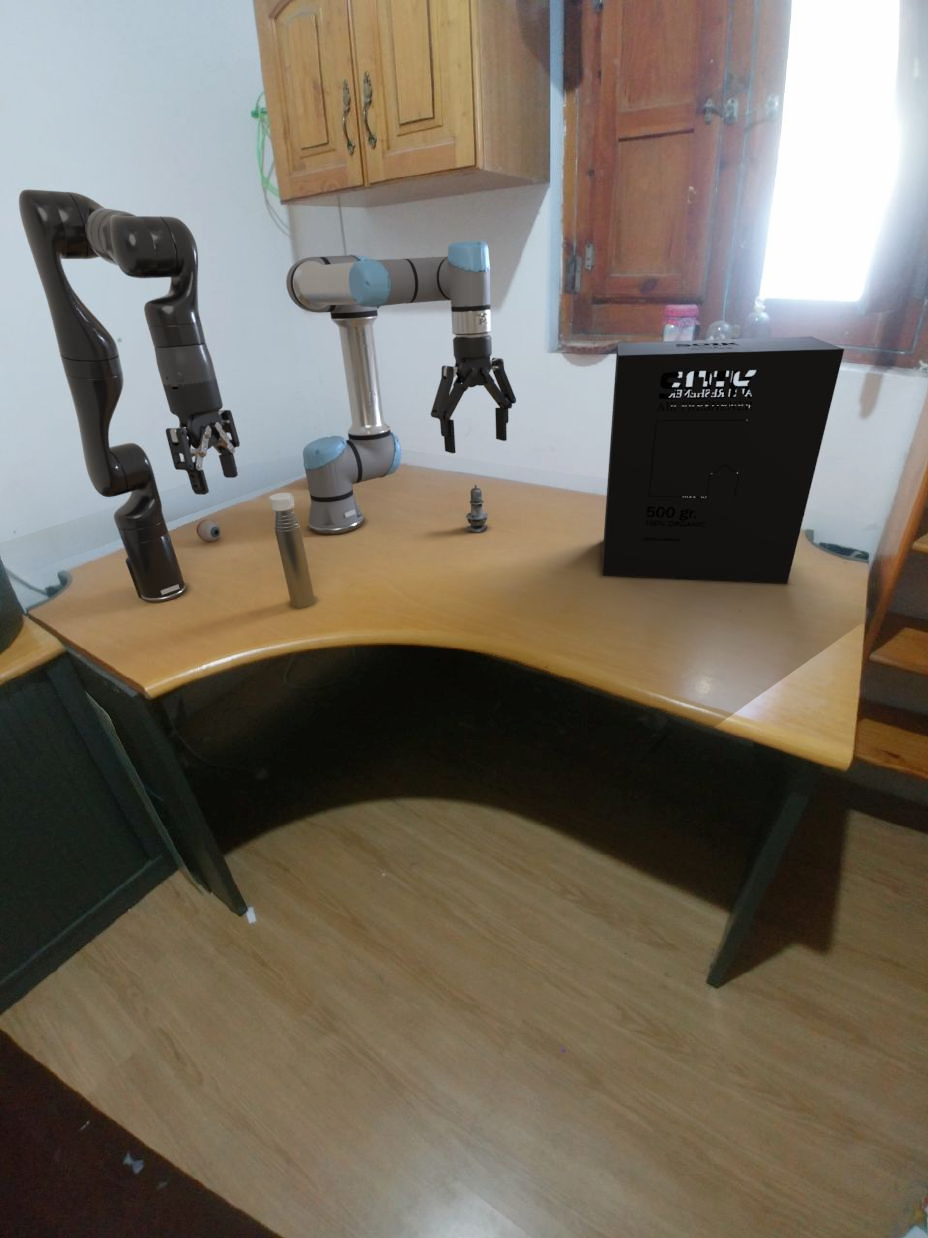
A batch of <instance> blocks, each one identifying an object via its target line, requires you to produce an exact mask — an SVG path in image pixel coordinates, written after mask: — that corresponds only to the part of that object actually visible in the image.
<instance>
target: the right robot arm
mask: <svg viewBox="0 0 928 1238" xmlns="http://www.w3.org/2000/svg"><path fill="white" fill-rule="evenodd" d="M490 263H491V262H490V252H489V245H488V244H487V242H485V241H484V240H466V241H455V242H451V243H450V244H449V245H448V247H447V256H431V257H430V256H427V257H413V258H411V257H410V258H391V259H390V258H386V259H374V258H370V257H369V256H367V255H358V254H349V255H328V256H326V255H325V256H310V257H305V258H302V259H300V260H298V261H296V262H295V263H293V265H291V267H290V268H289V269H288V272H287V275H286V281H285V282H286V283H285V284H286V285H285V286H286V290H287V293H288V296H289V297H290V299H291V300H292V303H294V304H295V305H296V306H298V307H299V308H300V309H302V310H304V311H306V312H310V313H318V314H319V313H320V314H321V313H330V320H331V321H332V322H333V323H334V324H335V325H336V326H337V327H338V332H339V333H338V334H339V339H340V347H341V355H342V361H343V369H344V375H345V382H346V383H345V384H346V389H347V396H348V404H349V410H350V418H351V425H350V426H349V428H348V430H347V436H348V439H345V437H343V436H341V435H332V436H324V437H321V438H318V439H315V440H312V441H311V442H309V443H308V444H306V445H305V446H304V448H303V450H302V457H303V459H302V460H303V467H304V471H305V476H306V481H307V486H308V492H309V498H310V507H309V513H308V521H307V524H308V528H309V529H308V530H310V531H311V532H312V533H314V534H317V535H323V536H324V535H325V536H327V535H329V536H331V535H339V534H340V535H341V534H345V533H350V532H353V531H355V530H357V529H359V528H361V527H362V526H363V525H364V523H365V519H364V514H363V512H362V510H361V508H360V505H359V504H358V501H357V500H356V498H355V495H354V489H353V485H354V484H355V485H356V484H359V483H363V482H368V481H371V480H375V479H381V478H385V477H387V476H390V475H392V474H394V473H396V472H397V470H398V469H399V467H400V465H401V462H402V446H401V443H400V441H399V437H398V436H397V435H396V434H395V432H394V431H391V426H390V425H388V423H386V422H385V420H384V419H385V418H384V410H383V402H382V393H381V385H380V377H379V368H378V367H379V366H378V358H377V349H376V341H375V331H374V324H375V322H376V320H377V319H378V317H379V314H378V309H379V308H381V307H385V306H394V305H403V304H405V305H406V304H417V303H419V304H420V303H427V302H428V303H429V302H444V301H448V302H449V301H450V311H451V313H450V314H451V315H450V316H451V334H453V335H454V337H453V339H452V350H453V358H454V359H455V363H454V366H452V365H442V366H441V373H440V374H441V375H440V376H441V377H440V381H439V384H438V388H437V390H436V395H435V398H434V401H433V404H432V407H431V411H430V416H431V418H435V419H438V421H439V426H440V435H441V437H443V441H444V442H443V443H444V452H446V453H450V454H456V433H455V420H454V419H451V418H452V416H453V414H454V413H455V410H456V409H457V406H458V404H459V402H460V401H461V399H462V397H463V396H464V393H465V392H466V391H468V389H469V388H474V387H477V386H478V387H482V386H483V387H484V389H485V390H486V391H487V392H488V394H489V396H491V398H492V399H493V401H494V402H495V403H496V405H497V406H498V407H495V408H494V410H495V411H494V413H495V414H494V415H495V439H496V440H499V441H502V442H507V441H508V438H507V435H508V433H507V424H509V410H510V409H512V407H513V404H516V403H517V398H516V394H515V393H514V390H513V388H512V385H511V383H510V380H509V378H508V375H507V373H506V370H505V363H504V362H505V361H504V359H503V358H499V357H493V358H491V356H492V354H493V346H492V344H493V343H492V340H493V339H492V336H491V335H489V333H491V332H492V315H491V314H492V312H491V311H492V309H491V264H490ZM491 370H492V374H493V376H494V378H493V376H492V375H491ZM455 377H456V378H455ZM454 378H455V380H454ZM495 381H496V383H497V384H496V383H495Z"/></svg>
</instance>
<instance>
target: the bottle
mask: <svg viewBox="0 0 928 1238" xmlns="http://www.w3.org/2000/svg"><path fill="white" fill-rule="evenodd" d="M274 512H275V513H274V524H273V526H274V533H275V538H276V542H277V546H278V551H279V555H280V556H279V557H280V560H281V564H282V570H283V573H284V578H285V582H286V586H287V587H286V588H287V591H288V595H289V601H290V604H291V607H292V608H296V609H304V608H305V609H306V608H308V607H311V606H313V604H315V601H316V599H315V595H314V589H313V585H312V580H311V575H310V570H309V564H308V560H307V555H306V554H307V553H306V549H305V545H304V540H303V534H302V530H301V525H300V522H299V520H298V518H297V515H296V514H295V512H294V511H293V508H292V509H289V510H285V511H274Z"/></svg>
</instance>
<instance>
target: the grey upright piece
mask: <svg viewBox="0 0 928 1238" xmlns="http://www.w3.org/2000/svg"><path fill="white" fill-rule="evenodd" d="M482 492H483V491H482V489H481V488H480V487H478V485H477V484H475V485H474V487H473V488H471V490H470V501H469V504H470V512H469V513H467V514H466V516H465V518H466V520H467V522H468V524H469V526H468V527H467V530H468V531H469V532H472V533H480V532H485V531H487V530H488V526H487V525H486V523H487V520H488V517H489V514H488V513H487V512H484V509H483V504H484V500H483V494H482Z"/></svg>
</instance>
